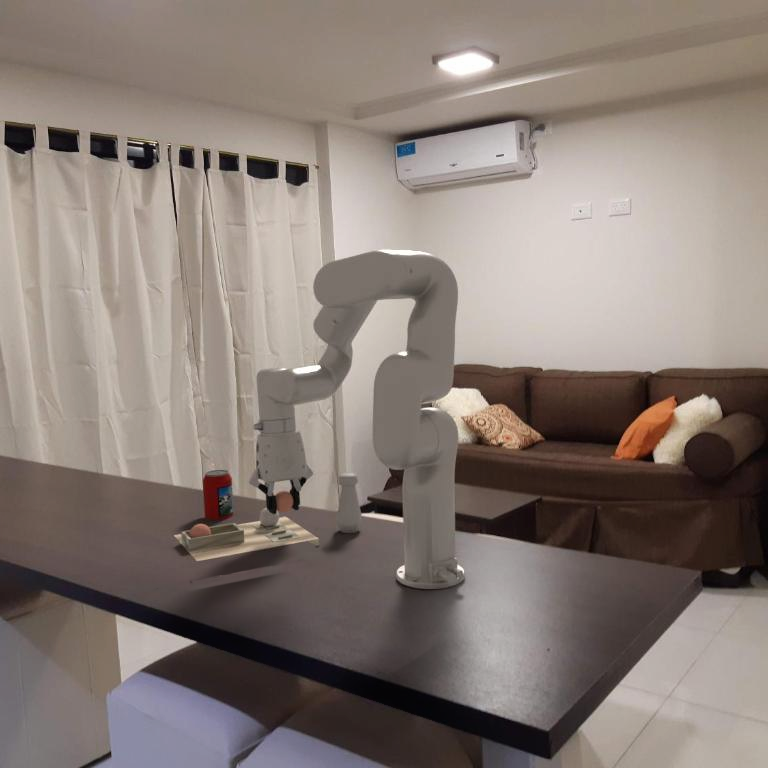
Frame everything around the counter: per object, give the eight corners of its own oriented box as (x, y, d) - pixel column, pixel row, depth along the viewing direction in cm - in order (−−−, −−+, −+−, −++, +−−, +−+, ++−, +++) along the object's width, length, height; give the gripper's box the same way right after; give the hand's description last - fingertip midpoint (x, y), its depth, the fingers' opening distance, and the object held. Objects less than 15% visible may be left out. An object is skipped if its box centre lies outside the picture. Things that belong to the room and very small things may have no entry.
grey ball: (282, 527, 172) (281, 508, 171) (263, 530, 170) (262, 511, 169) (275, 522, 176) (274, 503, 175) (257, 525, 174) (256, 506, 173)
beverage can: (230, 525, 180) (227, 475, 179) (201, 526, 181) (199, 475, 179) (236, 517, 187) (234, 468, 186) (209, 517, 187) (206, 469, 186)
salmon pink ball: (297, 511, 164) (295, 491, 163) (277, 515, 162) (276, 494, 161) (289, 507, 168) (288, 487, 167) (270, 511, 166) (269, 491, 165)
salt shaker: (351, 536, 169) (349, 478, 168) (331, 531, 173) (329, 475, 171) (367, 529, 174) (365, 472, 173) (348, 525, 177) (346, 470, 176)
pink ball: (214, 545, 161) (212, 525, 160) (193, 549, 159) (191, 528, 158) (208, 540, 165) (207, 520, 164) (187, 543, 163) (186, 523, 162)
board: (319, 545, 163) (318, 527, 163) (197, 568, 151) (196, 548, 151) (285, 522, 181) (285, 506, 181) (174, 541, 169) (173, 524, 169)
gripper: (244, 433, 156) (251, 521, 157) (321, 423, 164) (327, 507, 165) (234, 429, 163) (240, 514, 164) (308, 420, 170) (313, 501, 172)
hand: (283, 510), depth 165 cm, fingers closed on salmon pink ball, 4 cm apart
